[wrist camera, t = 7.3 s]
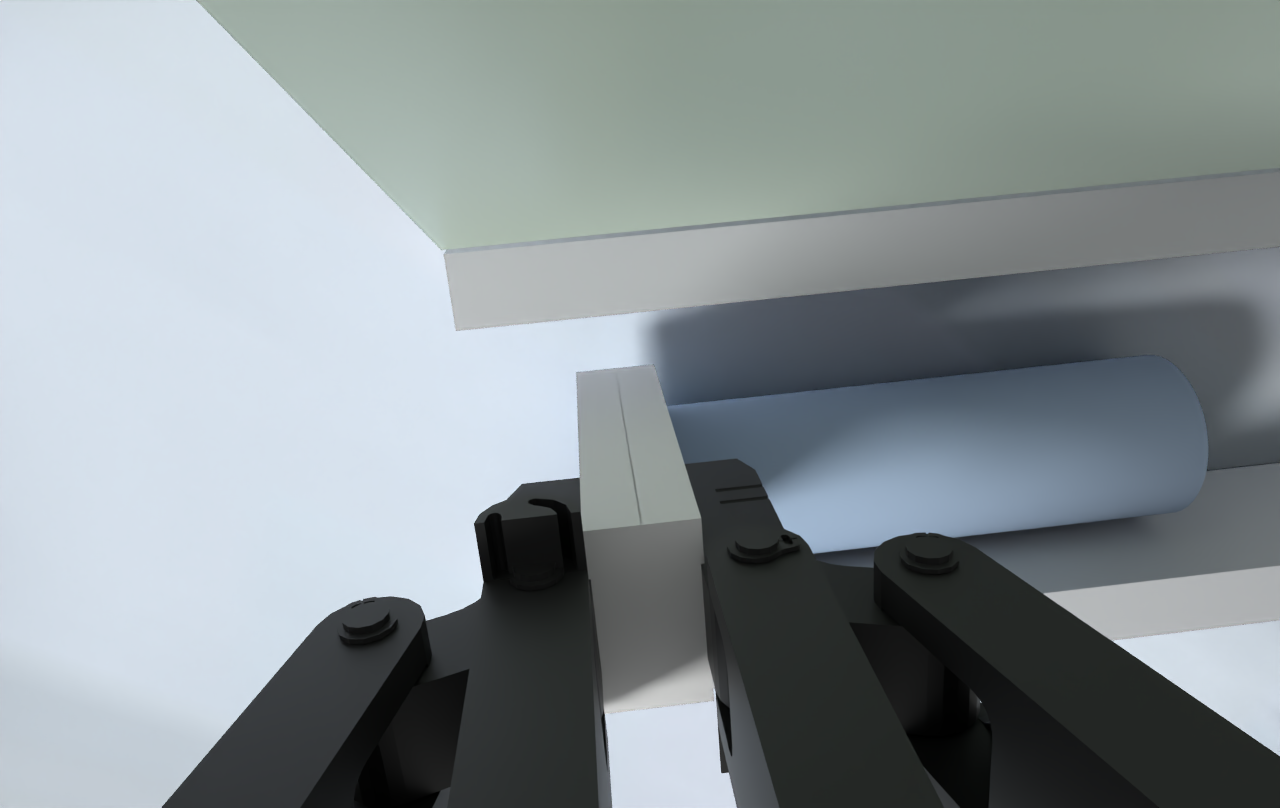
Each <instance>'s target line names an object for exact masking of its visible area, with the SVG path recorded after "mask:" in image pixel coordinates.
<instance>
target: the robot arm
mask: <svg viewBox="0 0 1280 808" xmlns="http://www.w3.org/2000/svg"><path fill="white" fill-rule="evenodd" d="M576 377H577V408H578V438H579V469H580V478H573V479H564V480H555V481H545V482H536V483H527V484H522V485H521V486H520V487H519V488H518V489H517V490H516V491H515V492H514V493H513V494H512V495H511V496H510V497H509V498H508V499H507V500H505V501H503V502H500V503H498V504H495V505H492V506H491V507H490V508H488V509H487V510H485V511H484V512H482V513H481V514H480V515H479V516H478V518H477V520H476V521H475V523H474V526H475V532H476V538H477V544H478V550H479V556H480V563H481V569H482V575H483V581H484V583H483V589H482V595H481V598H480V599H479V600H478V601H476V602H475V603H473V604H471V605H469V606H467V607H465V608H464V609H461V610H459V611H456V612H453V613H450V614H448V615H445V616H441V617H438V618H435V619H431V620H428V621H426V620H425V615H424V613H423V611H422V608H421V606H420V605H418V604H417V603H415V602H413V601H411V600H409V599H405V598H398V597H380V598H377V597H372V598H367V599H363V601H361V600H359V601H356V602H353V603H350V604H349V605H347V606H345V607H343V608H341V609H339V610H337V611H335V612H333V613H331V614H330V615H329V616H328V617H326V618H325V619H324V620H323V621H322V622H321V623H319V624H318V625H317V626H316V627H315V628H314V630H313V631H312V632H311V633H310V634H309V635H308V637H307V638H306V639H305V640H304V641H303V642H302V644H301V645H300V646H299V647H298V648H297V649H296V651H295V652H294V653H293V654H292V655H291V657H290V658H289V659H288V660H287V661H286V662H285V664H284V665H283V666H282V667H281V668H280V669H279V671H278V672H277V673H276V674H275V675H274V676H273V678H272V679H271V680H270V681H269V682H268V683H267V685H266V686H265V687H264V688H263V689H262V690H261V692H260V693H259V694H258V695H257V696H256V698H255V699H254V700H253V701H252V702H251V703H250V705H249V706H248V707H247V708H246V709H245V710H244V712H243V713H242V714H241V715H240V716H239V717H238V719H237V720H236V721H235V722H234V723H233V724H232V726H231V727H230V728H229V729H228V730H227V731H226V733H225V734H224V735H223V736H222V737H221V739H220V740H219V741H218V742H217V743H216V744H215V746H214V747H213V748H212V749H211V750H210V751H209V753H208V754H207V755H206V756H205V757H204V758H203V760H202V761H201V762H200V763H199V764H198V765H197V767H196V768H195V769H194V770H193V771H192V772H191V774H190V775H189V776H188V777H187V778H186V780H185V781H184V782H183V783H182V784H181V785H180V787H179V788H178V789H177V790H176V791H175V792H174V794H173V795H172V796H171V797H170V798H169V799H168V801H167V802H166V803H165V804H164V805H163V806H162V808H612V798H611V783H610V767H609V752H608V738H607V730H606V721H605V714H608V713H616V712H625V711H633V710H641V709H650V708H658V707H667V706H675V705H683V704H692V703H700V702H708V701H714V694H713V682H714V686H715V690H716V703H717V717H718V732H719V747H720V761H721V773H728V772H729V775H730V779H731V783H732V788H733V792H734V796H735V801H736V805H737V808H1280V756H1278V755H1277V754H1275V753H1274V752H1273V751H1271V750H1270V749H1268V748H1267V747H1265V746H1264V745H1262V744H1261V743H1259V742H1258V741H1257V740H1255V739H1254V738H1252V737H1251V736H1249V735H1248V734H1246V733H1245V732H1243V731H1242V730H1241V729H1239V728H1238V727H1236V726H1235V725H1233V724H1232V723H1230V722H1229V721H1227V720H1226V719H1225V718H1223V717H1222V716H1220V715H1219V714H1217V713H1216V712H1214V711H1213V710H1211V709H1210V708H1209V707H1207V706H1206V705H1204V704H1203V703H1201V702H1200V701H1198V700H1197V699H1195V698H1194V697H1193V696H1191V695H1190V694H1188V693H1187V692H1185V691H1184V690H1182V689H1181V688H1179V687H1178V686H1177V685H1175V684H1174V683H1172V682H1171V681H1169V680H1168V679H1166V678H1165V677H1163V676H1162V675H1161V674H1159V673H1158V672H1156V671H1155V670H1153V669H1152V668H1150V667H1149V666H1147V665H1146V664H1145V663H1143V662H1142V661H1140V660H1139V659H1137V658H1136V657H1134V656H1133V655H1131V654H1130V653H1129V652H1127V651H1126V650H1124V649H1123V648H1121V647H1120V646H1118V645H1117V644H1115V643H1114V642H1113V641H1111V640H1110V639H1108V638H1107V637H1105V636H1104V635H1102V634H1101V633H1099V632H1098V631H1097V630H1095V629H1094V628H1092V627H1091V626H1089V625H1088V624H1086V623H1085V622H1083V621H1082V620H1081V619H1079V618H1078V617H1076V616H1075V615H1073V614H1072V613H1070V612H1069V611H1067V610H1066V609H1065V608H1063V607H1062V606H1060V605H1059V604H1057V603H1056V602H1054V601H1053V600H1051V599H1050V598H1049V597H1047V596H1046V595H1044V594H1043V593H1041V592H1040V591H1038V590H1037V589H1035V588H1034V587H1032V586H1031V585H1030V584H1028V583H1027V582H1025V581H1024V580H1022V579H1021V578H1019V577H1018V576H1016V575H1015V574H1014V573H1012V572H1011V571H1009V570H1008V569H1006V568H1005V567H1003V566H1002V565H1000V564H999V563H998V562H996V561H995V560H993V559H992V558H990V557H989V556H987V555H986V554H984V553H983V552H982V551H980V550H979V549H977V548H976V547H974V546H972V545H970V544H968V543H966V542H964V541H962V540H960V539H956V538H952V537H948V536H943V535H941V534H938V533H928V534H926V532H922V533H913V534H909V535H902V536H897V537H895V538H892V539H889V540H887V541H884V542H883V543H882V544H881V545H880V546H879V547H878V548H877V549H876V550H875V551H874V568H871V567H855V566H843V565H835V564H829V563H825V562H822V561H818V560H816V558H815V556H814V554H813V552H812V550H811V549H810V547H809V545H808V544H807V542H806V541H805V540H804V539H803V538H802V537H801V536H800V535H797V534H795V533H793V532H790V531H788V530H786V529H784V528H783V526H782V524H781V522H780V520H779V517H778V515H777V513H776V511H775V509H774V507H773V505H772V503H771V501H770V499H768V495H767V493H766V491H765V489H764V487H763V486H762V482H761V480H760V478H759V476H758V474H757V472H756V470H755V469H753V468H752V467H750V466H748V465H747V464H745V463H743V462H742V461H740V460H738V459H737V458H735V459H726V460H717V461H708V462H698V463H689V464H684V461H683V457H682V454H681V451H680V448H679V444H678V441H677V438H676V435H675V431H674V428H673V425H672V422H671V418H670V415H669V412H668V409H667V405H666V402H665V399H664V396H663V392H662V389H661V386H660V383H659V379H658V376H657V373H656V370H655V366H654V364H652V365H642V366H633V367H623V368H613V369H604V370H594V371H584V372H576ZM712 678H713V680H712ZM980 701H981V702H980Z"/></svg>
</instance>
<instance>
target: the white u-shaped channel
mask: <svg viewBox="0 0 1280 808" xmlns="http://www.w3.org/2000/svg"><path fill="white" fill-rule="evenodd" d="M1272 247H1280V168H1271V169H1261V170H1251V171H1241V172H1231V173H1221V174H1210V175H1200V176H1190V177H1180V178H1170V179H1160V180H1149V181H1139V182H1129V183H1119V184H1109V185H1099V186H1088V187H1078V188H1068V189H1058V190H1048V191H1038V192H1027V193H1017V194H1007V195H997V196H987V197H977V198H966V199H956V200H946V201H936V202H926V203H916V204H905V205H895V206H885V207H875V208H865V209H855V210H844V211H834V212H824V213H814V214H804V215H794V216H783V217H773V218H763V219H753V220H743V221H732V222H722V223H712V224H702V225H692V226H682V227H671V228H661V229H651V230H641V231H631V232H621V233H610V234H600V235H590V236H580V237H570V238H560V239H549V240H539V241H529V242H519V243H509V244H499V245H488V246H478V247H468V248H458V249H448V250H446V252H445V253H444V259H445V266H446V272H447V278H448V284H449V291H450V297H451V303H452V310H453V316H454V322H455V329H456V331H460V330H470V329H480V328H490V327H499V326H509V325H519V324H529V323H538V322H548V321H558V320H568V319H578V318H587V317H597V316H607V315H617V314H627V313H636V312H646V311H656V310H666V309H675V308H685V307H695V306H705V305H715V304H724V303H734V302H744V301H754V300H763V299H773V298H783V297H793V296H803V295H812V294H822V293H832V292H842V291H852V290H861V289H871V288H881V287H891V286H900V285H910V284H920V283H930V282H940V281H949V280H959V279H969V278H979V277H988V276H998V275H1008V274H1018V273H1028V272H1037V271H1047V270H1057V269H1067V268H1077V267H1086V266H1096V265H1106V264H1116V263H1125V262H1135V261H1145V260H1155V259H1165V258H1174V257H1184V256H1194V255H1204V254H1213V253H1223V252H1233V251H1243V250H1253V249H1262V248H1272ZM956 539H960V540H962V541H964V542H966V543H968V544H970V545H972V546H974V547H976V548H977V549H979V550H980V551H982V552H983V553H984V554H986V555H987V556H989V557H990V558H992V559H993V560H995V561H996V562H998V563H999V564H1000V565H1002V566H1003V567H1005V568H1006V569H1008V570H1009V571H1011V572H1012V573H1014V574H1015V575H1016V576H1018V577H1019V578H1021V579H1022V580H1024V581H1025V582H1027V583H1028V584H1030V585H1031V586H1032V587H1034V588H1035V589H1037V590H1038V591H1040V592H1041V593H1043V594H1044V595H1046V596H1047V597H1049V598H1050V599H1051V600H1053V601H1054V602H1056V603H1057V604H1059V605H1060V606H1062V607H1063V608H1065V609H1066V610H1067V611H1069V612H1070V613H1072V614H1073V615H1075V616H1076V617H1078V618H1079V619H1081V620H1082V621H1083V622H1085V623H1086V624H1088V625H1089V626H1091V627H1092V628H1094V629H1095V630H1097V631H1098V632H1099V633H1101V634H1102V635H1104V636H1105V637H1107V638H1108V639H1110V640H1120V639H1128V638H1136V637H1145V636H1153V635H1161V634H1169V633H1178V632H1186V631H1194V630H1203V629H1211V628H1219V627H1227V626H1236V625H1244V624H1252V623H1261V622H1269V621H1277V620H1280V463H1273V464H1264V465H1255V466H1246V467H1237V468H1229V469H1220V470H1211V471H1206V475H1205V479H1204V482H1203V485H1202V487H1201V489H1200V491H1199V493H1198V495H1197V497H1196V498H1195V499H1194V501H1193V502H1192V503H1191V504H1190V505H1189V506H1188V507H1186V508H1185V509H1183V510H1181V511H1178V512H1174V513H1166V514H1157V515H1149V516H1140V517H1131V518H1122V519H1113V520H1105V521H1096V522H1087V523H1078V524H1070V525H1061V526H1052V527H1043V528H1035V529H1026V530H1017V531H1008V532H999V533H991V534H982V535H973V536H964V537H956ZM878 547H879V546H877V547H868V548H859V549H850V550H842V551H833V552H824V553H815V554H814V556H815V558H816V560H818V561H822V562H825V563H829V564H835V565H843V566H855V567H871V568H874V551H875V550H876V549H877V548H878ZM712 680H713V678H712ZM713 688H715V686H714V682H713Z"/></svg>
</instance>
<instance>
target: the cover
mask: <svg viewBox="0 0 1280 808" xmlns="http://www.w3.org/2000/svg"><path fill="white" fill-rule="evenodd" d="M197 1H198V2H199V4H200V5H201V6H202V7H203V8H204V9H205V10H206V11H207V12H208V13H209V14H210V15H211V16H212V17H213V18H214V19H215V20H216V21H217V22H218V23H219V24H220V25H221V26H222V27H223V28H224V29H225V30H226V31H227V32H228V33H229V34H230V35H231V36H232V37H233V38H234V39H235V40H236V41H237V42H238V43H239V44H240V45H241V46H242V47H243V48H244V49H245V50H246V51H247V52H248V53H249V54H250V56H251V57H252V58H253V59H254V60H255V61H256V62H257V63H258V64H259V65H260V66H261V67H262V68H263V69H264V70H265V71H266V72H267V73H268V74H269V75H270V76H271V77H272V78H273V79H274V80H275V81H276V82H277V83H278V84H279V85H280V86H281V87H282V88H283V89H284V90H285V91H286V92H287V93H288V94H289V95H290V96H291V97H292V98H293V99H294V100H295V101H296V102H297V103H298V104H299V105H300V106H301V108H302V109H303V110H304V111H305V112H306V113H307V114H308V115H309V116H310V117H311V118H312V119H313V120H314V121H315V122H316V123H317V124H318V125H319V126H320V127H321V128H322V129H323V130H324V131H325V132H326V133H327V134H328V135H329V136H330V137H331V138H332V139H333V140H334V141H335V142H336V143H337V144H338V145H339V146H340V147H341V148H342V149H343V150H344V151H345V152H346V153H347V154H348V155H349V156H350V157H351V159H352V160H353V161H354V162H355V163H356V164H357V165H358V166H359V167H360V168H361V169H362V170H363V171H364V172H365V173H366V174H367V175H368V176H369V177H370V178H371V179H372V180H373V181H374V182H375V183H376V184H377V185H378V186H379V187H380V188H381V189H382V190H383V191H384V192H385V193H386V194H387V195H388V196H389V197H390V198H391V199H392V200H393V201H394V202H395V203H396V204H397V205H398V206H399V207H400V208H401V209H402V211H403V212H404V213H405V214H406V215H407V216H408V217H409V218H410V219H411V220H412V221H413V222H414V223H415V224H416V225H417V226H418V227H419V228H420V229H421V230H422V231H423V232H424V233H425V234H426V235H427V236H428V237H429V238H430V239H431V240H432V241H433V242H434V243H435V244H436V245H437V246H438V247H439V248H440V249H441V250H448V249H458V248H468V247H478V246H488V245H499V244H509V243H519V242H529V241H539V240H549V239H560V238H570V237H580V236H590V235H600V234H610V233H621V232H631V231H641V230H651V229H661V228H671V227H682V226H692V225H702V224H712V223H722V222H732V221H743V220H753V219H763V218H773V217H783V216H794V215H804V214H814V213H824V212H834V211H844V210H855V209H865V208H875V207H885V206H895V205H905V204H916V203H926V202H936V201H946V200H956V199H966V198H977V197H987V196H997V195H1007V194H1017V193H1027V192H1038V191H1048V190H1058V189H1068V188H1078V187H1088V186H1099V185H1109V184H1119V183H1129V182H1139V181H1149V180H1160V179H1170V178H1180V177H1190V176H1200V175H1210V174H1221V173H1231V172H1241V171H1251V170H1261V169H1271V168H1280V0H197Z"/></svg>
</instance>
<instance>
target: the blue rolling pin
mask: <svg viewBox="0 0 1280 808" xmlns="http://www.w3.org/2000/svg"><path fill="white" fill-rule="evenodd" d="M667 409H668V412H669V415H670V418H671V422H672V425H673V428H674V431H675V435H676V438H677V441H678V444H679V448H680V451H681V454H682V457H683V461H684V464H689V463H698V462H708V461H717V460H726V459H735V458H737V459H738V460H740V461H742V462H743V463H745V464H747V465H748V466H750V467H752V468H753V469H755V470H756V472H757V474H758V476H759V478H760V480H761V482H762V486H763V487H764V489H765V491H766V493H767V495H768V499H770V501H771V503H772V505H773V507H774V509H775V511H776V513H777V515H778V517H779V520H780V522H781V524H782V526H783V528H784V529H786V530H788V531H790V532H793V533H795V534H797V535H800V536H801V537H802V538H803V539H804V540H805V541H806V542H807V544H808V545H809V547H810V549H811V550H812V552H813V554H815V553H824V552H833V551H842V550H850V549H859V548H868V547H877V546H880V545H881V544H882V543H883V542H884V541H887V540H889V539H892V538H895V537H897V536H902V535H909V534H913V533H922V532H926V534H928V533H938V534H941V535H943V536H948V537H952V538H956V537H964V536H973V535H982V534H991V533H999V532H1008V531H1017V530H1026V529H1035V528H1043V527H1052V526H1061V525H1070V524H1078V523H1087V522H1096V521H1105V520H1113V519H1122V518H1131V517H1140V516H1149V515H1157V514H1166V513H1174V512H1178V511H1181V510H1183V509H1185V508H1186V507H1188V506H1189V505H1190V504H1191V503H1192V502H1193V501H1194V499H1195V498H1196V497H1197V495H1198V493H1199V491H1200V489H1201V487H1202V485H1203V482H1204V479H1205V475H1206V471H1207V464H1208V449H1209V448H1208V434H1207V427H1206V422H1205V418H1204V414H1203V411H1202V408H1201V405H1200V402H1199V400H1198V397H1197V395H1196V393H1195V391H1194V389H1193V387H1192V386H1191V384H1190V382H1189V381H1188V380H1187V378H1186V377H1185V375H1184V374H1183V373H1182V372H1181V371H1180V370H1179V369H1178V368H1177V367H1176V366H1175V365H1174V364H1173V363H1171V362H1170V361H1168V360H1166V359H1164V358H1162V357H1159V356H1155V355H1143V356H1133V357H1124V358H1114V359H1105V360H1095V361H1086V362H1077V363H1067V364H1058V365H1048V366H1039V367H1030V368H1020V369H1011V370H1001V371H992V372H982V373H973V374H964V375H954V376H945V377H935V378H926V379H916V380H907V381H898V382H888V383H879V384H869V385H860V386H851V387H841V388H832V389H822V390H813V391H803V392H794V393H785V394H775V395H766V396H756V397H747V398H738V399H728V400H719V401H709V402H700V403H690V404H681V405H672V406H667Z"/></svg>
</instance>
